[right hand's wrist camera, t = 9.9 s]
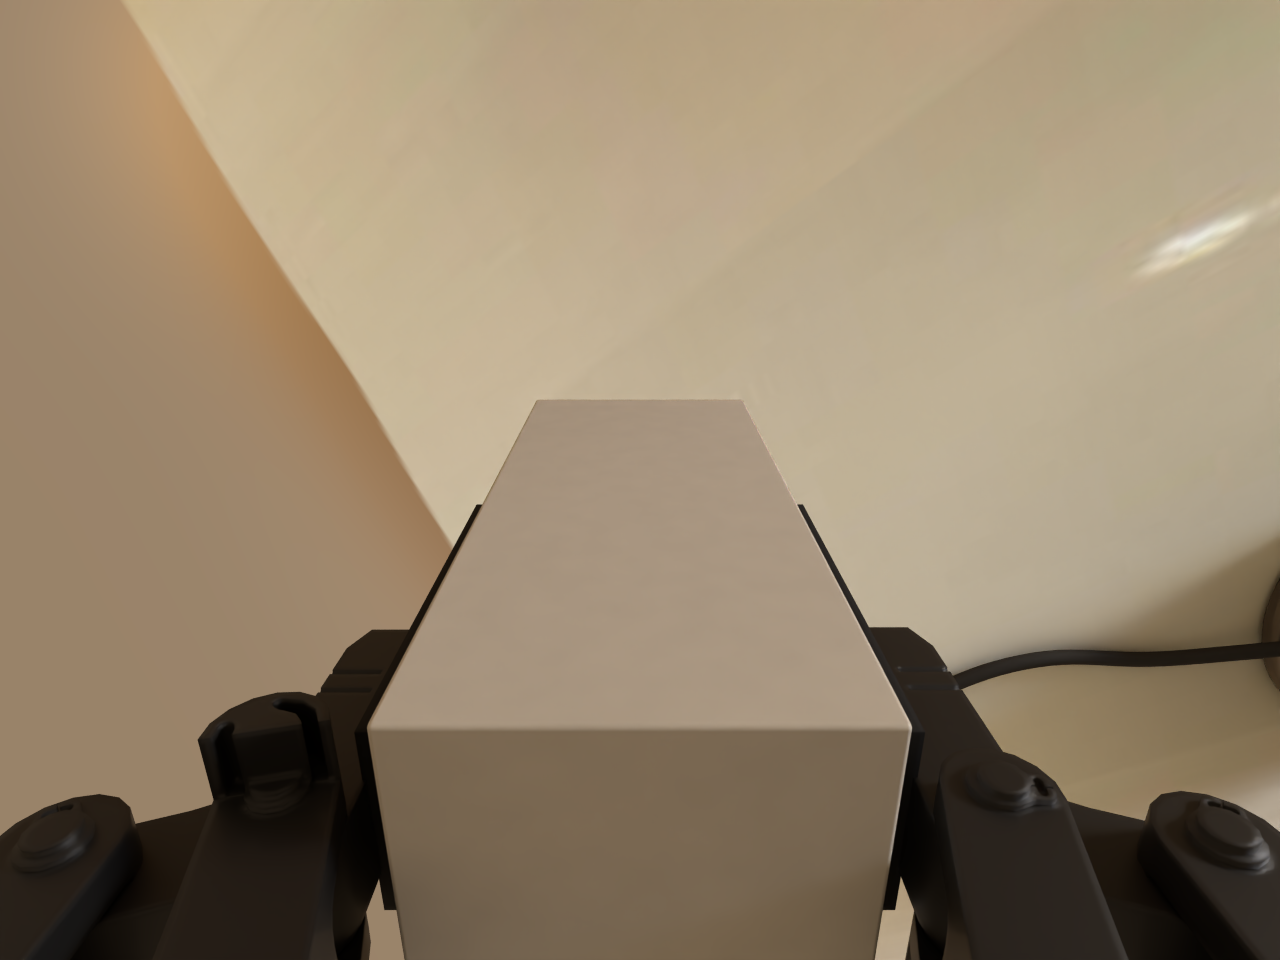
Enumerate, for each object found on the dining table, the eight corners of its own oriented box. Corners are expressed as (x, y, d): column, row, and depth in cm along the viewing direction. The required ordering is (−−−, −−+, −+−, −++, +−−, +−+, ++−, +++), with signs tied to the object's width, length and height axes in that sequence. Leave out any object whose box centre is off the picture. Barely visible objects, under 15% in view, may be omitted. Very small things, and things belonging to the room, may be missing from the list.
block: (743, 399, 17) (915, 726, 6) (733, 590, 19) (854, 1093, 8) (536, 399, 17) (364, 726, 6) (546, 590, 19) (424, 1094, 8)
